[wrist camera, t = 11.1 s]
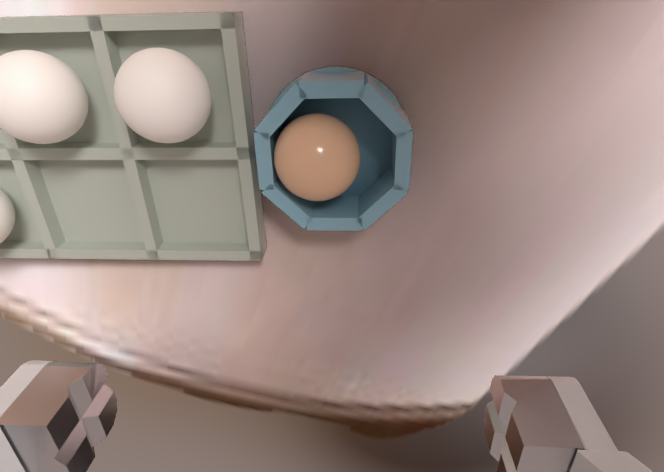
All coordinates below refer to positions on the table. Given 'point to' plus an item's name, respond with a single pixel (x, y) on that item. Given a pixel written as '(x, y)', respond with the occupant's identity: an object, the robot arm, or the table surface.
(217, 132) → the egg carton
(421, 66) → the table surface
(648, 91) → the table surface
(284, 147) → the brown egg
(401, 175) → the egg cup
